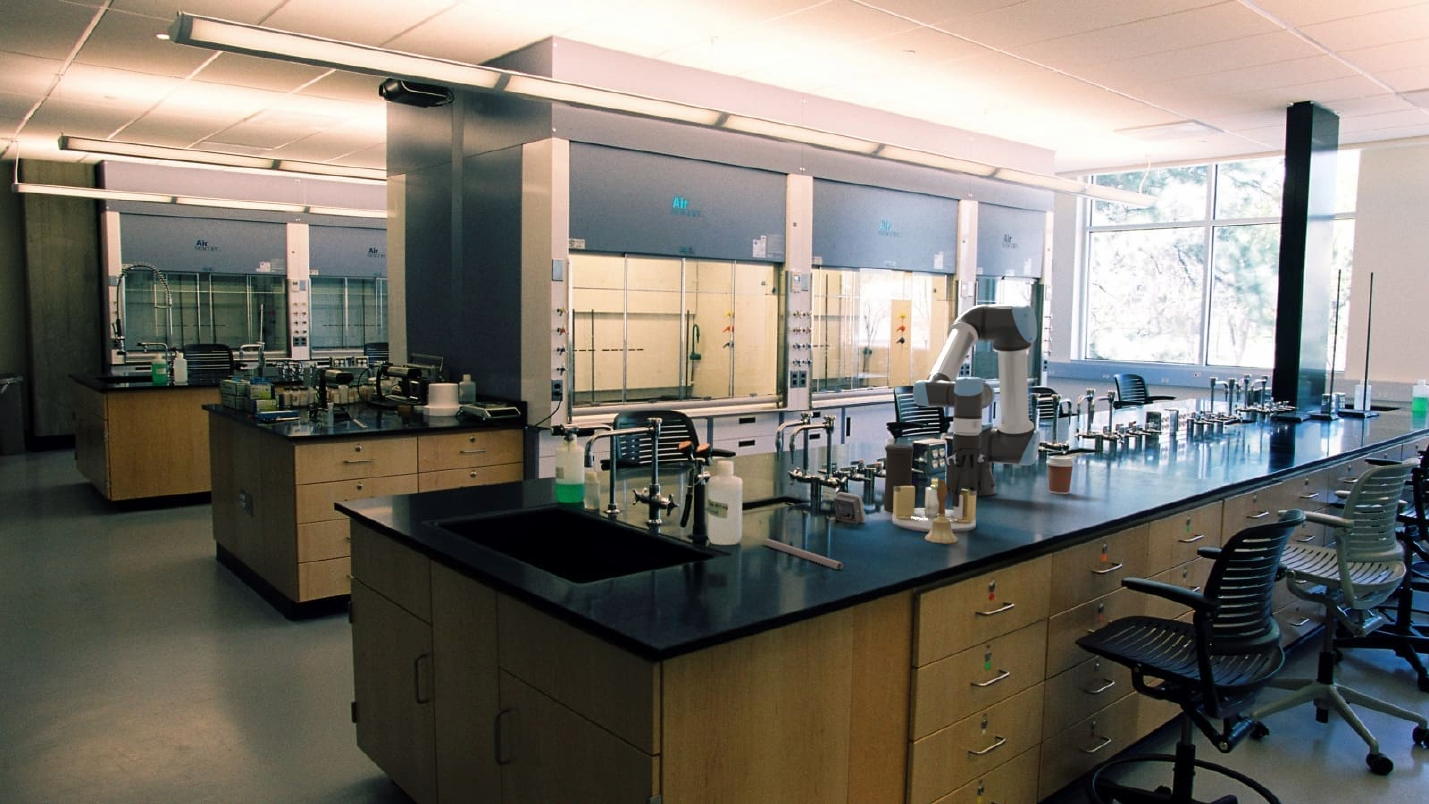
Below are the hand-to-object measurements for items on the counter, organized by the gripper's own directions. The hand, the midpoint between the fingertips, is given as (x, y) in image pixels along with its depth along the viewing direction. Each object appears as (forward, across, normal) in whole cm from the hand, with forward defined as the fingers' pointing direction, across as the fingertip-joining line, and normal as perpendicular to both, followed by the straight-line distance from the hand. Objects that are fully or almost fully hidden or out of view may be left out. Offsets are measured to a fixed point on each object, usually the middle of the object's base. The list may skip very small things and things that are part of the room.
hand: (964, 517), depth 249 cm
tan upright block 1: (+1, -13, +10) cm, 16 cm away
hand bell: (+3, -14, -8) cm, 16 cm away
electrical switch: (+4, -24, +20) cm, 32 cm away
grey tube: (+4, -56, -8) cm, 57 cm away
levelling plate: (+3, -3, +9) cm, 10 cm away
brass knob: (+1, +3, +16) cm, 16 cm away
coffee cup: (+3, +66, +30) cm, 73 cm away
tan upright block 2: (+1, 0, 0) cm, 1 cm away
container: (+3, -1, +28) cm, 29 cm away
